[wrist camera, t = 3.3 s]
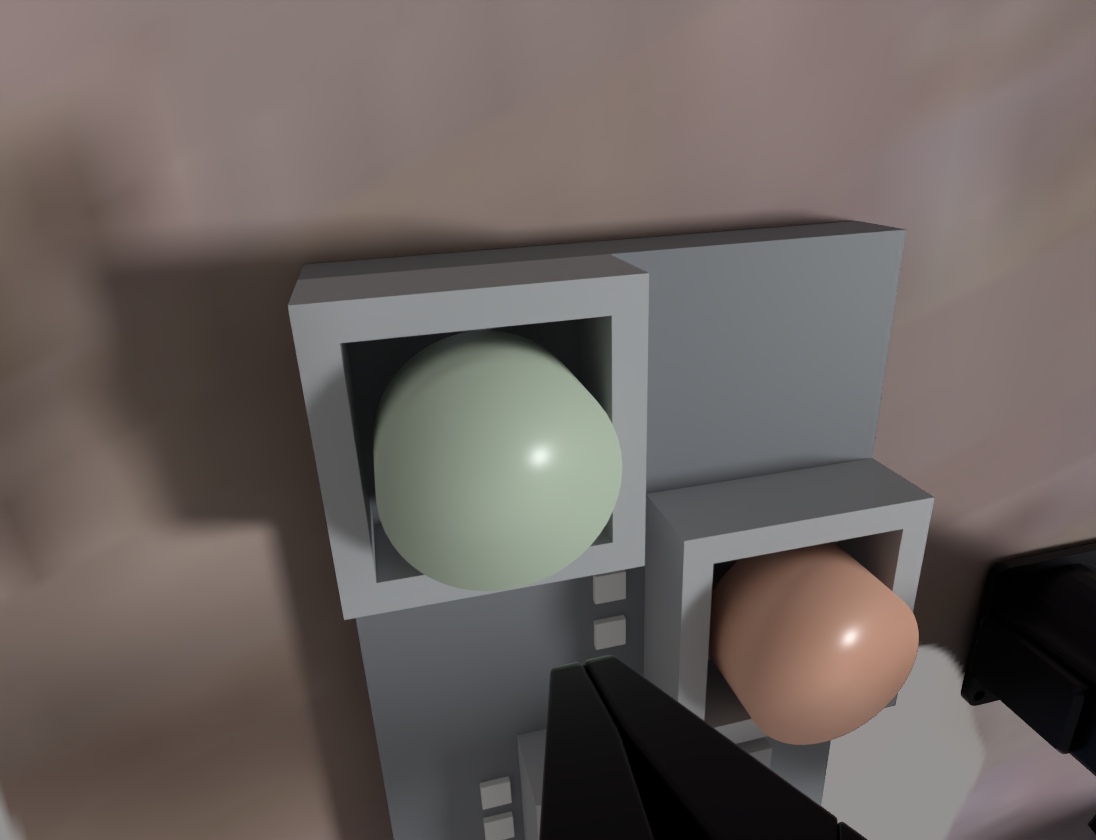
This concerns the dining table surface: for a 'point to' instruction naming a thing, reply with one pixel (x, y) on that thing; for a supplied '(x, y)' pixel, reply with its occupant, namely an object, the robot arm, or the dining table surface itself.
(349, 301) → the button panel
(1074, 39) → the dining table surface
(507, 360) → the sage button
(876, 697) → the terracotta button
